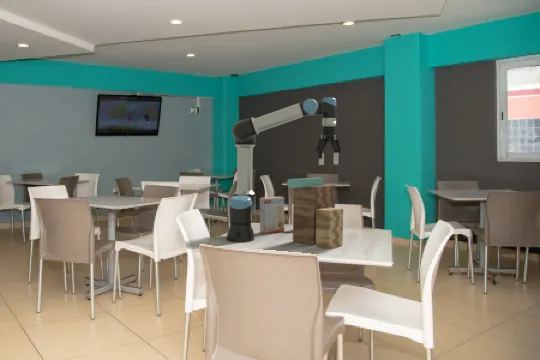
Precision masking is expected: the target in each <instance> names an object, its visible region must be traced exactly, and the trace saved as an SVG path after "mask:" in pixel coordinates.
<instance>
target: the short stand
mask: <svg viewBox="0 0 540 360" xmlns="http://www.w3.org/2000/svg"><path fill="white" fill-rule="evenodd" d="M343 227H344V208H338V207H335V208H324V209H316V245H315V247H316V248H321V249H325V248H326V250H330V248H331V249H335V248H338V247H343V241H344V240H343V236H344V235H343V234H344V231H343V230H344V229H343Z"/></svg>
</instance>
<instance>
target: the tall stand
mask: <svg viewBox="0 0 540 360" xmlns="http://www.w3.org/2000/svg"><path fill="white" fill-rule="evenodd" d="M292 189H293V194H292V195H293V198H292V199H293V202H292V204H293V205H292V206H293V207H292V208H293V209H292V211H293V212H292V213H293V214H292V243H299V244H303V245H311V246H316V209H324V208H336V185H333V184H332V185H331V184H323V185H321V186H308V187H296V188H292Z"/></svg>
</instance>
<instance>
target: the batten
mask: <svg viewBox="0 0 540 360" xmlns="http://www.w3.org/2000/svg"><path fill="white" fill-rule="evenodd" d="M321 185H324V177H307V178H306V177H304V178H303V177H301V178H288V179H287V187H288V188H292V189H293V188H296V187H308V186H321Z"/></svg>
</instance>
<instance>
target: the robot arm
mask: <svg viewBox="0 0 540 360" xmlns="http://www.w3.org/2000/svg"><path fill="white" fill-rule="evenodd" d="M306 116H307V117H308V116H322V119H321V120H322V123H321V124H322V128H321V129H322V132H321V133H323V134H320V135H319V140H318V142H317V145H316V149H315V151H316V153H317V154H318V166H324V165H325V164H324V162H325V158H324V157H325V153H324V151H325V149H326V147H327V145H328V144H330V145H331V147H332V149H333V151H334V153H333V165H339V154H340V153H341V152H342V148H341V145H340V140H339V135H338V134H336V133H337V127H336V126H337V99H336V98H335V97H324V98H322V101H317V100H315V99H313V98H308V99H306V100H304V101H301V102H298V103H295V104H293V105H289V106H287V107H284V108H282V109H279V110H275V111H273V112H270V113H267V114H264V115H261V116H258V117H250V118H249V117H248V118H247V119H242V120H238V121H236V122H235V123H234V124H233V126H232V129H231V133H232V134H231V135H232V136H233V138H234V146H235V147H236V149H237V156H236V157H237V162H236V163H237V165H236V166H237V167H236V168H237V169H236V171H237V174H236V177H237V178H236V179H237V181H236V182H237V184H236V186H237V188H236V191H235V192H234V196H232V197H230V199H229V227H228V229H227V230H228V231H227V233H226V241H229V242H234V243H235V242H236V243H237V242H240V243H241V242H242V243H244V242H246V243H247V242H252V241H255V233H254V230H253V227H252V214H254V213H255V211H256V209H257V208H256V207H257V204H256V203H257V202H256V193H255V192H254V191H253V162H254V161H253V159H254V158H253V151H254V150H253V149H254V147H255V146H256V137H257V135H259V133H260V132H263V131H267V130H269V129H272V128H275V127H277V126H281V125H283V124H287V123H289V122H292V121H295V120H297V119H301V118H303V117H306ZM335 134H336V135H335Z"/></svg>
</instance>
